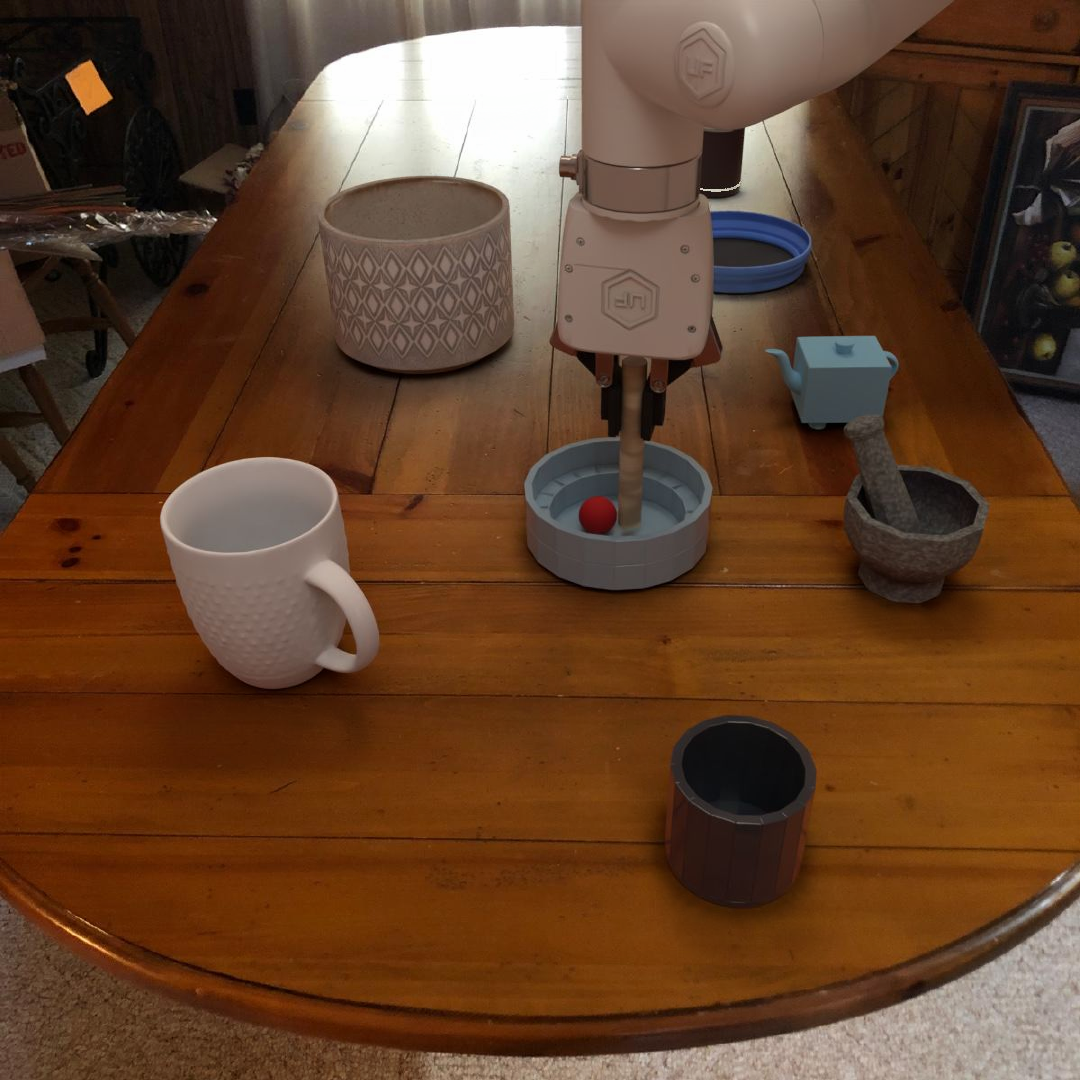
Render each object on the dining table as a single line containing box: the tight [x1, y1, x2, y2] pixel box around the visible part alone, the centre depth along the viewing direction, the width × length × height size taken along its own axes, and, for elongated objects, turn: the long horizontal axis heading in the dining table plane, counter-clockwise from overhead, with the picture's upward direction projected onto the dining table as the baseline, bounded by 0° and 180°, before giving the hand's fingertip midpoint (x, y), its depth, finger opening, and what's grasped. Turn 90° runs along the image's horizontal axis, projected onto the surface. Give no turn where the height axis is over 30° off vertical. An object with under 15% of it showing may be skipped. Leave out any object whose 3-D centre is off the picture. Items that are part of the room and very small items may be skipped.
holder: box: [664, 714, 818, 909], centre depth 60 cm, size 8×8×7 cm
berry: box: [579, 496, 617, 535], centre depth 86 cm, size 3×3×3 cm
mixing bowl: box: [523, 436, 714, 591], centre depth 85 cm, size 14×14×5 cm
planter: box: [316, 175, 515, 375], centre depth 111 cm, size 19×19×14 cm
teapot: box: [764, 335, 899, 430], centre depth 99 cm, size 12×6×8 cm, turn 89°
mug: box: [159, 456, 380, 690], centre depth 71 cm, size 15×11×13 cm
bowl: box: [710, 210, 812, 294], centre depth 128 cm, size 18×18×4 cm
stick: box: [618, 356, 648, 530], centre depth 81 cm, size 2×2×14 cm
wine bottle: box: [700, 126, 746, 199], centre depth 142 cm, size 7×7×30 cm
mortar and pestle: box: [843, 414, 991, 604], centre depth 79 cm, size 11×9×12 cm
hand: (632, 428), depth 80 cm, fingers closed on stick, 1 cm apart
